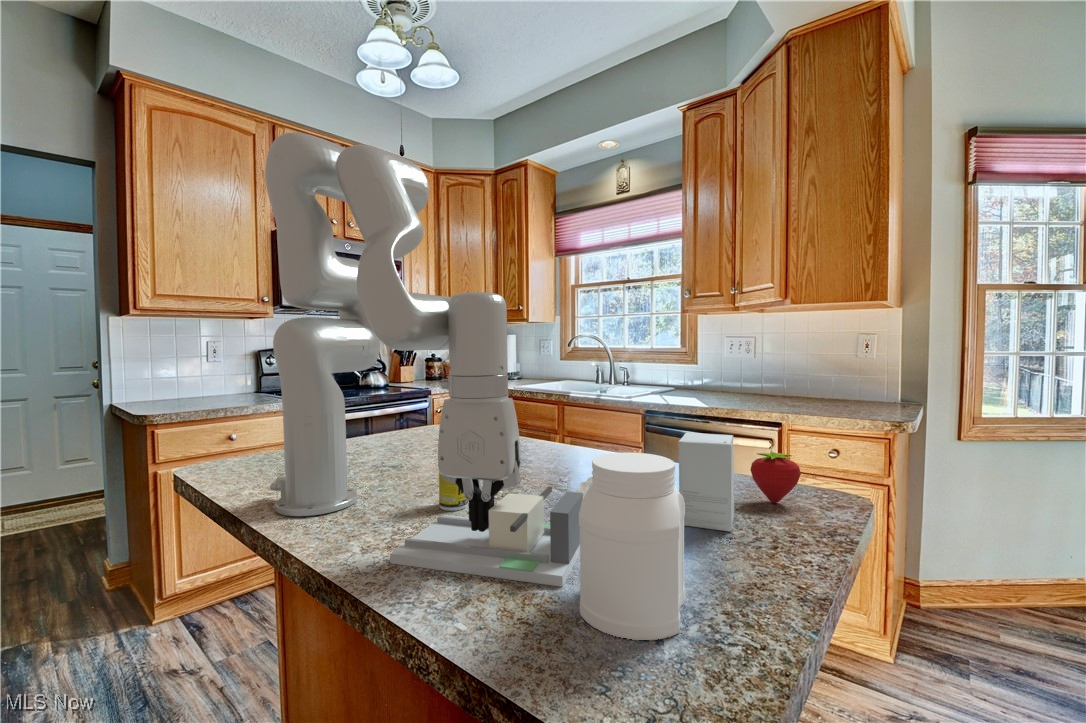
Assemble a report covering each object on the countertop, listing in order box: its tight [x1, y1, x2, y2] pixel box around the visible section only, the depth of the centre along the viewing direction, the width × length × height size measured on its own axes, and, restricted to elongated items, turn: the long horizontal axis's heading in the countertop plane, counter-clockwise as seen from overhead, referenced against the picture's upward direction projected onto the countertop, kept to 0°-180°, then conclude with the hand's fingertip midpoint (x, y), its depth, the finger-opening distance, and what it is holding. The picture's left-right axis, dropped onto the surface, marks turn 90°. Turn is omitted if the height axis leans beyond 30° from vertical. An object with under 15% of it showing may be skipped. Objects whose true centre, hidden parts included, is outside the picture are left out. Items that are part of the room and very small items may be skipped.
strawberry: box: [750, 443, 802, 504], centre depth 81 cm, size 6×8×10 cm
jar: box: [579, 452, 686, 641], centre depth 50 cm, size 12×10×15 cm
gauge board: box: [389, 491, 583, 588], centre depth 64 cm, size 22×14×7 cm, turn 73°
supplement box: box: [677, 432, 735, 532], centre depth 73 cm, size 7×7×13 cm
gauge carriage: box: [489, 486, 553, 552], centre depth 63 cm, size 5×15×5 cm, turn 163°
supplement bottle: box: [438, 470, 469, 512], centre depth 81 cm, size 5×5×8 cm
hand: (482, 527), depth 64 cm, fingers closed
